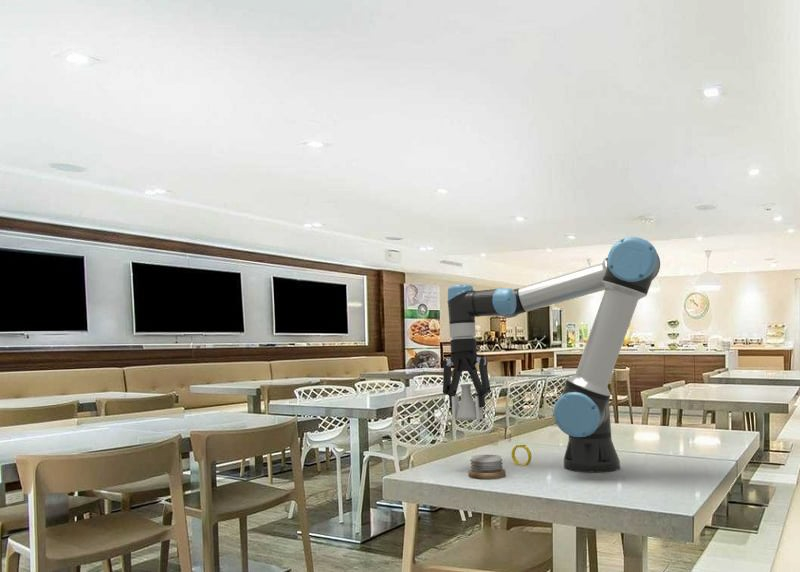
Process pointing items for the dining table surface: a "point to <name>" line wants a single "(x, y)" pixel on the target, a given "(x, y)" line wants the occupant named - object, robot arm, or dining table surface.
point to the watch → (527, 452)
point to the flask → (466, 405)
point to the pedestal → (486, 467)
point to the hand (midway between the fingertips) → (468, 418)
